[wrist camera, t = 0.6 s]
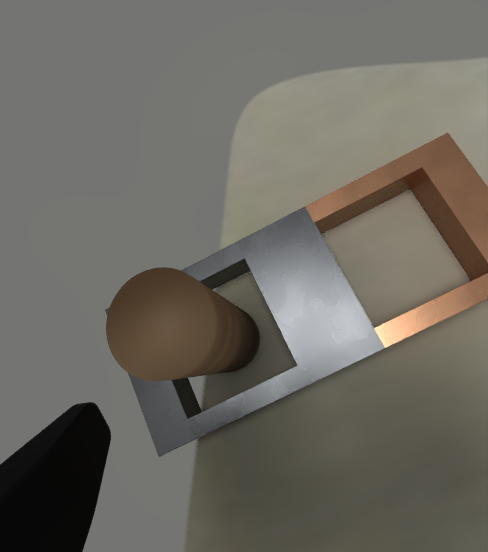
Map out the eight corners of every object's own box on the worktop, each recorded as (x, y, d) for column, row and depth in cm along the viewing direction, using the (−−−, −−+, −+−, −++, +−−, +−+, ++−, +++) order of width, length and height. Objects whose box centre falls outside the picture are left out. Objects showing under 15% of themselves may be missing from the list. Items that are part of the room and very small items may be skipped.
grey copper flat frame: (519, 280, 20) (547, 269, 17) (176, 445, 21) (158, 456, 19) (433, 157, 22) (448, 132, 19) (127, 314, 23) (105, 309, 21)
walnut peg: (270, 354, 21) (232, 350, 12) (212, 382, 22) (129, 401, 12) (242, 296, 22) (186, 248, 13) (187, 324, 22) (91, 297, 13)
